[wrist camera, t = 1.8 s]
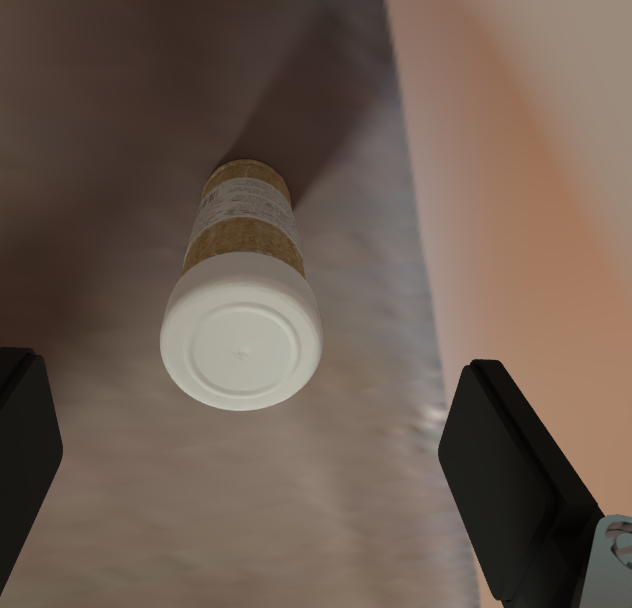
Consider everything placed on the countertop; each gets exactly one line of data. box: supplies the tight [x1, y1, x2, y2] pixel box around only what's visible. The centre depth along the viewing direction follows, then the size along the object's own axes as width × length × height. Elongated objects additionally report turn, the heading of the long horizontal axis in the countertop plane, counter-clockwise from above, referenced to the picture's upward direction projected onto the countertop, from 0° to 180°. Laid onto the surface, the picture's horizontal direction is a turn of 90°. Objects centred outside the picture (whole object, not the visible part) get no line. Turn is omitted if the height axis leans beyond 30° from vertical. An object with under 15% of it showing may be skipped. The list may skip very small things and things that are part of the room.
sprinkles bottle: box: [160, 159, 323, 411], centre depth 19 cm, size 5×5×13 cm
